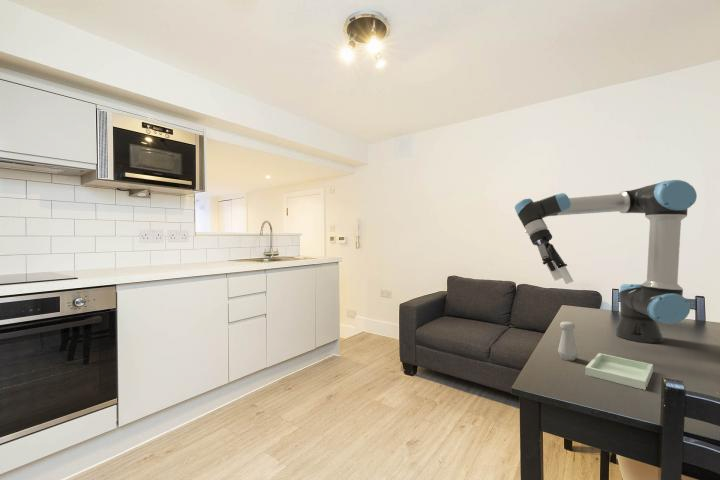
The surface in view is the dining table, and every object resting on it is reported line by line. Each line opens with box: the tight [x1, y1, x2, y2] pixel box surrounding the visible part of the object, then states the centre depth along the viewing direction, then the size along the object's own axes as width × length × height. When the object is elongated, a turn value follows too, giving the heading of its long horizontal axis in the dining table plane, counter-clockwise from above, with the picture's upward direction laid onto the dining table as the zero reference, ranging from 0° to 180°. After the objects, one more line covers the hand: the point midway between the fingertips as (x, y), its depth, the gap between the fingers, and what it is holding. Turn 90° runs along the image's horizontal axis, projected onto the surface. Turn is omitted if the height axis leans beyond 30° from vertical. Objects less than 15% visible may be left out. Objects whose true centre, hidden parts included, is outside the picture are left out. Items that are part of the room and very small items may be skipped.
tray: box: [584, 352, 654, 391], centre depth 99 cm, size 18×14×2 cm
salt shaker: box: [557, 321, 578, 362], centre depth 111 cm, size 6×6×13 cm
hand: (564, 280), depth 118 cm, fingers open, 13 cm apart
